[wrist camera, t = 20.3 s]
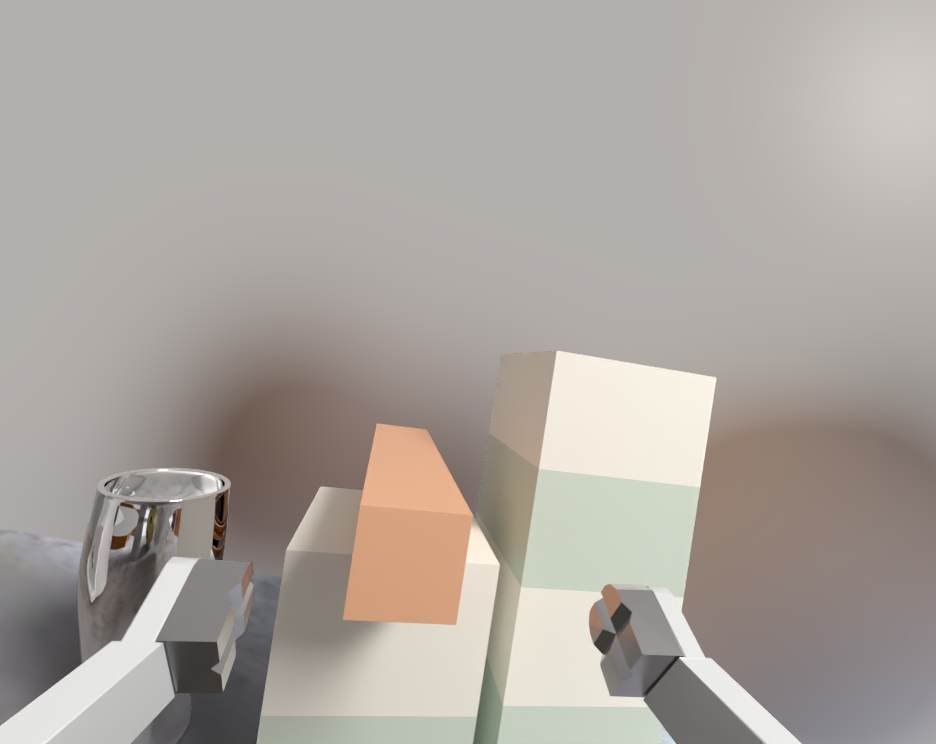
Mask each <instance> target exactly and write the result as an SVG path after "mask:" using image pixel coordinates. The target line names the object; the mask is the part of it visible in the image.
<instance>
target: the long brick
mask: <svg viewBox="0 0 936 744" xmlns="http://www.w3.org/2000/svg"><path fill="white" fill-rule="evenodd" d="M472 517H473V515H472V513H471V511H470V509H469V507H468V506H467V504H466V502H465V500H464V498H463V496H462V495H461V493H460V491H459V489H458V487H457V485H456V483H455V481H454V480H453V478H452V476H451V474H450V472H449V470H448V468H447V467H446V465H445V463H444V461H443V459H442V458H441V456H440V454H439V452H438V450H437V448H436V446H435V445H434V443H433V441H432V439H431V437H430V435H429V433H428V431H427V430H425V429H417V428H409V427H400V426H393V425H385V424H377V426H376V431H375V436H374V441H373V446H372V451H371V455H370V461H369V465H368V470H367V475H366V480H365V484H364V490H363V494H362V499H361V504H360V510H359V516H358V523H357V529H356V536H355V543H354V549H353V556H352V562H351V569H350V575H349V582H348V588H347V595H346V601H345V608H344V615H343V620H355V621H377V622H399V623H422V624H444V625H456V623H457V616H458V610H459V603H460V596H461V590H462V583H463V577H464V570H465V564H466V557H467V550H468V544H469V537H470V531H471V524H472Z"/></svg>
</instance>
